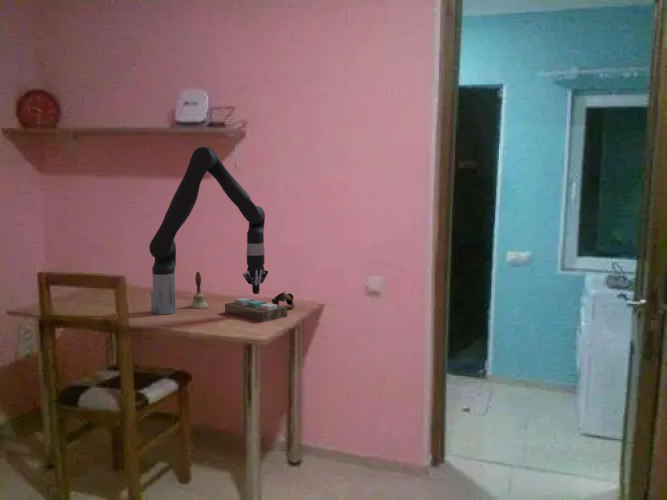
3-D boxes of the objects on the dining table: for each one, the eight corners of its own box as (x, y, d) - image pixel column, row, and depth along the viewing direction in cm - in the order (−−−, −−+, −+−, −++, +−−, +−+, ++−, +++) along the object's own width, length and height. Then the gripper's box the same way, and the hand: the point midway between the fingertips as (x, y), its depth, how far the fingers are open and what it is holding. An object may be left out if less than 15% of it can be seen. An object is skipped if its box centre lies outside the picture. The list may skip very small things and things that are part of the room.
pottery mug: (290, 312, 270) (281, 296, 269) (275, 319, 275) (265, 303, 274) (302, 300, 280) (293, 285, 279) (287, 307, 285) (278, 292, 284)
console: (263, 322, 251) (263, 312, 250) (225, 312, 266) (224, 303, 265) (287, 316, 261) (287, 307, 261) (249, 307, 276) (249, 299, 276)
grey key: (242, 306, 265) (242, 301, 264) (235, 304, 268) (235, 299, 268) (251, 304, 268) (251, 299, 268) (243, 302, 272) (243, 297, 271)
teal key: (255, 308, 260) (255, 303, 259) (247, 307, 263) (247, 302, 263) (264, 307, 263) (264, 302, 263) (256, 305, 267) (256, 300, 266)
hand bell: (193, 309, 272) (192, 274, 270) (187, 306, 279) (186, 271, 277) (211, 307, 276) (210, 272, 274) (204, 304, 283) (204, 270, 281)
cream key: (268, 311, 254) (268, 306, 254) (260, 310, 258) (260, 304, 257) (277, 309, 258) (277, 304, 258) (268, 308, 261) (268, 303, 261)
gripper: (260, 251, 268) (261, 290, 270) (237, 254, 257) (238, 294, 260) (273, 252, 263) (273, 292, 265) (249, 256, 253) (250, 297, 255)
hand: (255, 293), depth 262 cm, fingers closed
